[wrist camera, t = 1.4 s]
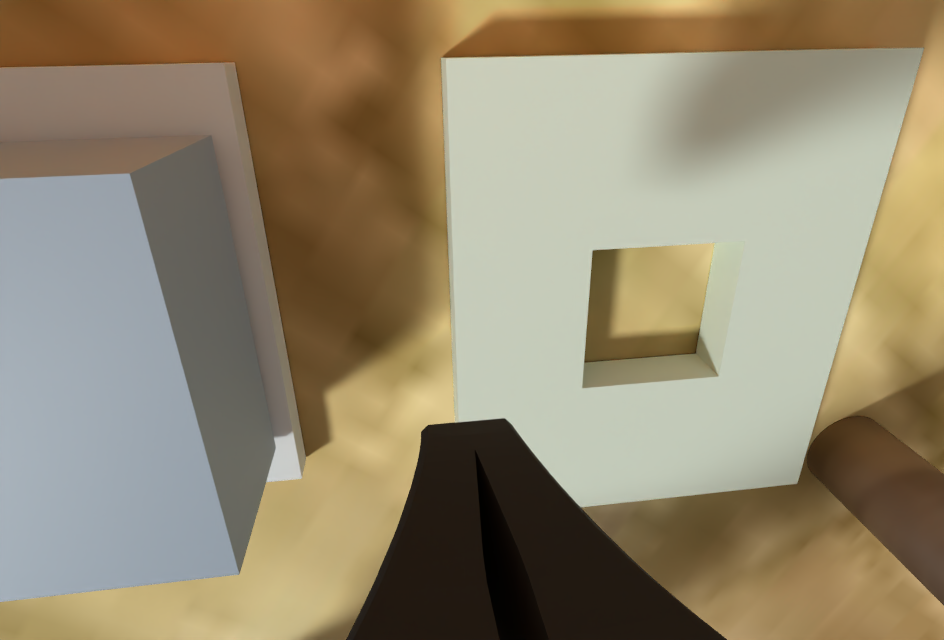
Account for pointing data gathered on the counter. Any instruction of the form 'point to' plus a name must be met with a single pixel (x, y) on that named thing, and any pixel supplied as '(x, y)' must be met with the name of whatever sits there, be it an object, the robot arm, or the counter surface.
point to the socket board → (662, 224)
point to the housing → (123, 369)
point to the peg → (886, 493)
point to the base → (174, 114)
